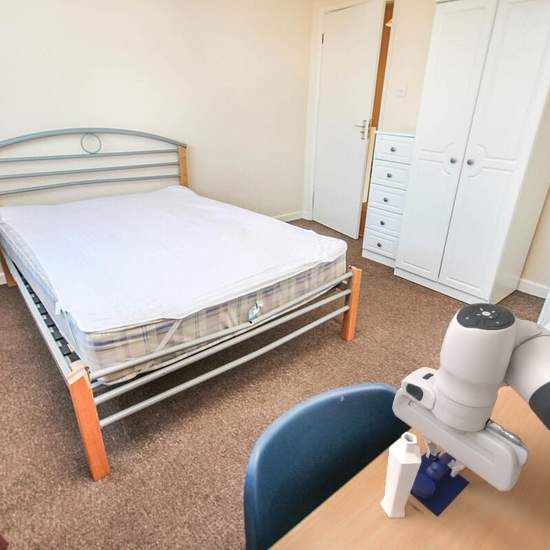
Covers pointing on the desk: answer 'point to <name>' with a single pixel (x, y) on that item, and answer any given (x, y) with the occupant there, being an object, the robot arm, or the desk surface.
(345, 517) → the desk surface
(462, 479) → the navy mat
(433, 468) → the navy bulbous segmented part
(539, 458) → the desk surface
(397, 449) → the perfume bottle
